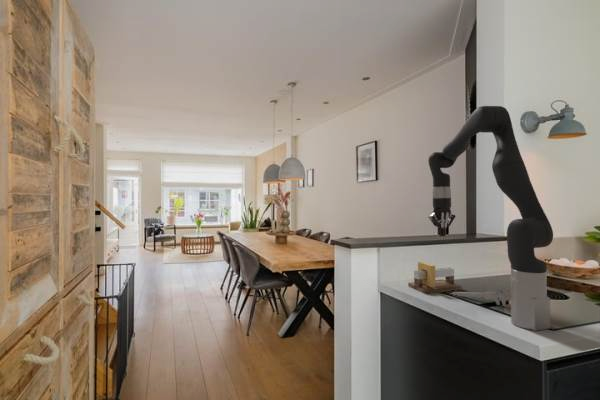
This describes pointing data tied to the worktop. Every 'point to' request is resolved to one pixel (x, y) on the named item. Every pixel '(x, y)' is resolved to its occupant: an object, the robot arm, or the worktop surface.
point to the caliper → (485, 296)
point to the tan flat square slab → (428, 273)
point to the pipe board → (439, 285)
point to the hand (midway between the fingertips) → (442, 236)
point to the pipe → (438, 273)
